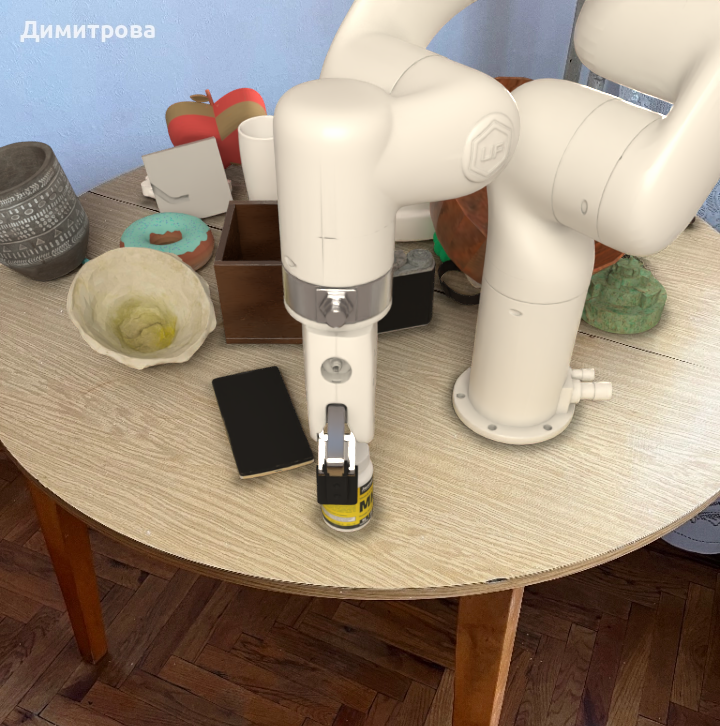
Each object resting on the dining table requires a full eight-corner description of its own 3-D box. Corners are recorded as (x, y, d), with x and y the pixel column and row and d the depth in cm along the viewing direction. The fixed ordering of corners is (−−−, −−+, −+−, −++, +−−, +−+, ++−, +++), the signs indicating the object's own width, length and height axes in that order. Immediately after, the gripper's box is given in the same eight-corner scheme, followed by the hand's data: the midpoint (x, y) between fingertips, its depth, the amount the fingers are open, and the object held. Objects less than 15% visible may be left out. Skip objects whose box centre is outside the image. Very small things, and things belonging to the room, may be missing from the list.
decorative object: (189, 184, 115) (160, 128, 100) (184, 160, 115) (155, 101, 101) (279, 164, 115) (263, 104, 100) (274, 140, 115) (258, 77, 100)
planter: (-7, 274, 100) (-67, 184, 90) (66, 222, 105) (17, 132, 95) (44, 302, 94) (-15, 209, 84) (120, 246, 98) (73, 152, 89)
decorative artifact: (569, 284, 96) (581, 333, 89) (580, 232, 91) (593, 280, 84) (651, 285, 96) (669, 335, 89) (667, 234, 91) (687, 282, 84)
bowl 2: (359, 223, 89) (393, 156, 78) (471, 112, 99) (515, 39, 89) (523, 366, 90) (578, 319, 79) (617, 241, 100) (677, 185, 90)
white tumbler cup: (294, 223, 107) (285, 111, 95) (307, 248, 102) (300, 134, 91) (246, 231, 105) (231, 119, 94) (257, 257, 101) (243, 142, 90)
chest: (226, 344, 89) (213, 264, 81) (239, 277, 98) (229, 200, 90) (328, 344, 88) (324, 264, 81) (332, 277, 98) (328, 200, 90)
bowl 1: (113, 413, 81) (87, 335, 73) (70, 343, 89) (43, 266, 81) (242, 364, 86) (231, 287, 79) (191, 302, 94) (176, 226, 87)
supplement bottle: (367, 537, 69) (367, 473, 63) (316, 529, 70) (311, 465, 64) (377, 498, 73) (378, 433, 66) (328, 490, 73) (324, 426, 67)
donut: (192, 225, 106) (187, 197, 103) (232, 265, 99) (228, 237, 96) (109, 252, 102) (101, 223, 99) (145, 295, 95) (137, 267, 92)
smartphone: (239, 476, 73) (210, 377, 83) (241, 484, 74) (211, 385, 83) (315, 458, 74) (277, 363, 84) (316, 466, 75) (278, 371, 85)
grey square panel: (235, 225, 108) (232, 220, 112) (233, 138, 103) (230, 135, 106) (147, 225, 105) (146, 219, 109) (139, 135, 100) (139, 132, 103)
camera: (417, 292, 95) (421, 217, 87) (436, 324, 90) (442, 247, 83) (299, 313, 92) (293, 237, 85) (313, 347, 88) (308, 270, 80)
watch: (495, 302, 93) (499, 275, 91) (463, 314, 92) (466, 287, 89) (458, 271, 98) (460, 245, 95) (427, 282, 96) (428, 256, 94)
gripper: (395, 361, 47) (385, 539, 59) (390, 220, 59) (382, 393, 71) (272, 359, 47) (287, 538, 59) (291, 218, 59) (300, 392, 71)
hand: (339, 459), depth 65 cm, fingers open, 9 cm apart
